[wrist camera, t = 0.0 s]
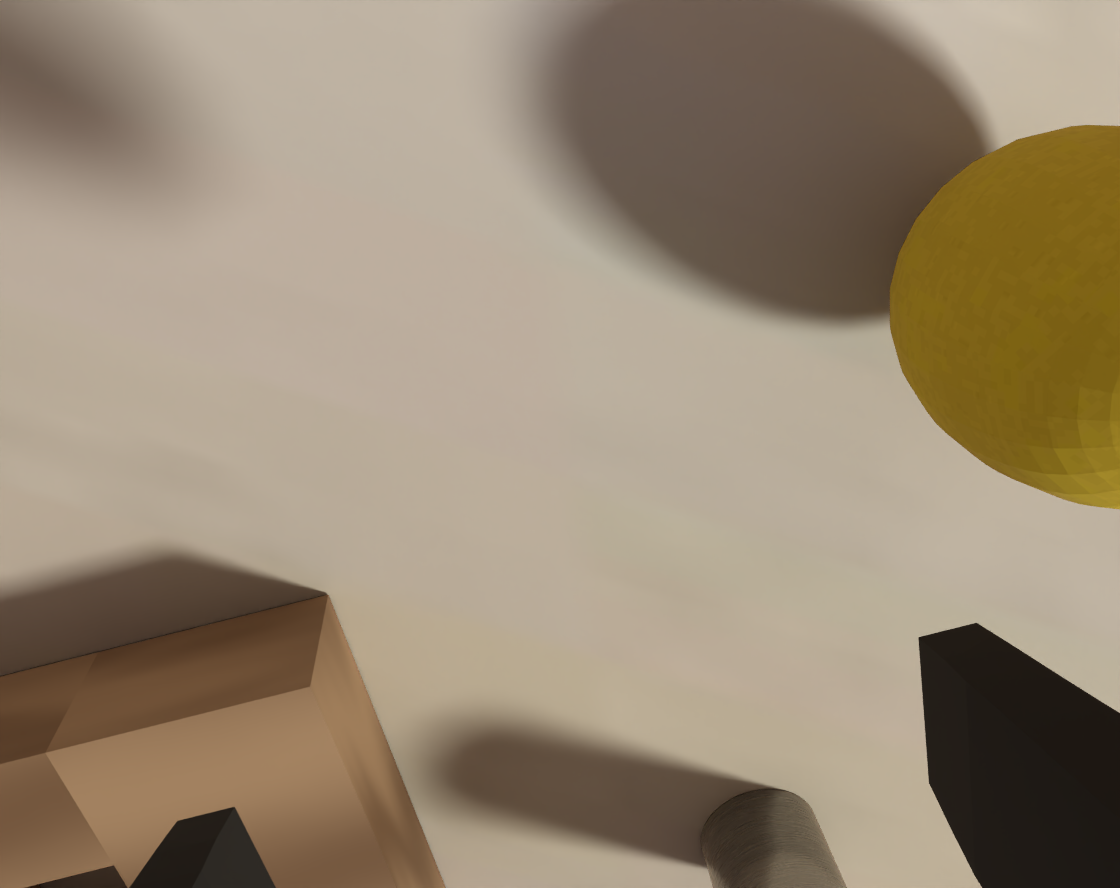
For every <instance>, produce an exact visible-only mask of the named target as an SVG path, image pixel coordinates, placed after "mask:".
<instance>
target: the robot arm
mask: <svg viewBox="0 0 1120 888" xmlns="http://www.w3.org/2000/svg"><path fill="white" fill-rule="evenodd" d="M919 650H920V664H921V678H922V692H923V706H924V720H925V733H926V747H927V761H928V775H929V784H930V786H931V788H932V790H933V792H934V794H935V796H936V798H937V800H938V802H939V805H940V807H941V809H942V811H943V813H944V815H945V817H946V819H947V821H948V823H949V825H950V827H951V829H952V831H953V834H954V836H955V838H956V839H957V841H958V843H959V845H960V847H961V849H962V851H963V853H964V855H965V857H966V859H967V861H968V863H969V865H970V867H971V869H972V871H973V873H974V875H975V877H976V878H977V880H978V882H979V883H980V885H981V886H982V888H1120V713H1119V712H1117V711H1115V710H1114V709H1112V708H1110V707H1109V706H1107V705H1106V704H1104V703H1102V702H1101V701H1099V700H1098V699H1096V698H1094V697H1093V696H1091V695H1090V694H1088V693H1086V692H1085V691H1083V690H1082V689H1080V688H1079V687H1077V686H1075V685H1074V684H1072V683H1071V682H1069V681H1067V680H1066V679H1064V678H1063V677H1061V676H1060V675H1058V674H1056V673H1055V672H1053V671H1052V670H1050V669H1049V668H1047V667H1045V666H1044V665H1042V664H1041V663H1039V662H1038V661H1036V660H1034V659H1033V658H1031V657H1030V656H1028V655H1027V654H1025V653H1023V652H1022V651H1020V650H1019V649H1017V648H1016V647H1014V646H1012V645H1011V644H1009V643H1008V642H1006V641H1005V640H1003V639H1001V638H1000V637H998V636H997V635H995V634H993V633H992V632H990V631H989V630H987V629H986V628H984V627H982V626H981V625H979V624H978V623H974V624H970V625H966V626H962V627H958V628H954V629H950V630H946V631H942V632H938V633H934V634H930V635H926V636H922V637H919ZM129 888H276V887H275V885H274V883H273V881H272V879H271V877H270V875H269V873H268V871H267V869H266V867H265V865H264V863H263V861H262V859H261V857H260V855H259V854H258V852H257V850H256V848H255V846H254V844H253V842H252V840H251V838H250V836H249V834H248V832H247V830H246V828H245V826H244V824H243V822H242V820H241V818H240V816H239V814H238V812H237V810H236V808H235V807H231V808H227V809H223V810H219V811H215V812H211V813H207V814H203V815H199V816H195V817H191V818H187V819H183V820H179V821H177V822H176V823H175V825H174V826H173V827H172V829H171V830H170V831H169V833H168V834H167V835H166V837H165V838H164V839H163V841H162V842H161V843H160V845H159V846H158V848H157V849H156V850H155V852H154V853H153V855H152V856H151V857H150V859H149V860H148V862H147V863H146V865H145V866H144V867H143V869H142V870H141V872H140V873H139V875H138V876H137V877H136V879H135V880H134V882H133V883H132V885H131V886H130V887H129Z"/></svg>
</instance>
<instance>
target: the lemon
mask: <svg viewBox="0 0 1120 888" xmlns="http://www.w3.org/2000/svg"><path fill="white" fill-rule="evenodd" d="M890 329H891V334H892V338H893V341H894V345H895V349H896V352H897V356H898V359H899V363H900V366H901V369H902V372H903V374H904V376H905V377H906V379H907V381H908V383H909V384H910V386H911V387H912V389H913V390H914V392H915V394H916V395H917V397H918V398H919V400H920V401H921V403H922V405H923V406H924V408H925V409H926V411H927V412H928V414H929V415H930V416H931V417H932V419H933V420H934V421H935V423H936V424H937V425H938V426H939V427H941V428H942V429H943V430H944V431H945V432H946V433H947V434H948V435H949V436H951V437H952V438H953V439H954V440H955V441H957V442H958V443H959V444H960V445H962V446H963V447H964V448H965V449H967V450H968V451H969V452H970V453H971V454H973V455H974V456H975V457H977V458H978V459H979V460H981V461H982V462H983V463H985V464H986V465H988V466H989V467H991V468H993V469H994V470H996V471H998V472H1000V473H1002V474H1004V475H1006V476H1008V477H1010V478H1012V479H1014V480H1017V481H1019V482H1022V483H1024V484H1026V485H1029V486H1031V487H1034V488H1036V489H1039V490H1041V491H1044V492H1046V493H1049V494H1051V495H1054V496H1056V497H1059V498H1062V499H1064V500H1068V501H1071V502H1075V503H1078V504H1083V505H1089V506H1096V507H1104V508H1113V509H1120V126H1100V125H1082V126H1071V127H1067V128H1063V129H1059V130H1055V131H1050V132H1046V133H1042V134H1038V135H1034V136H1030V137H1026V138H1022V139H1018V140H1016V141H1014V142H1012V143H1010V144H1008V145H1006V146H1004V147H1002V148H1000V149H998V150H996V151H994V152H992V153H990V154H988V155H986V156H984V157H982V158H980V159H978V160H976V161H974V162H972V163H971V164H970V165H968V166H967V167H966V168H965V169H963V170H962V171H961V172H960V173H959V174H957V175H956V176H955V177H954V178H952V179H951V180H950V181H949V182H948V183H946V184H945V185H944V186H943V187H941V189H940V190H939V191H938V192H937V194H936V195H935V196H934V197H933V198H932V200H931V201H930V202H929V203H928V205H927V206H926V207H925V208H924V210H923V211H922V212H921V213H920V215H919V216H918V217H917V218H916V220H915V222H914V224H913V226H912V228H911V230H910V232H909V234H908V236H907V238H906V240H905V242H904V244H903V246H902V248H901V250H900V252H899V254H898V258H897V262H896V266H895V270H894V274H893V278H892V282H891V286H890Z"/></svg>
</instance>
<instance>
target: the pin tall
mask: <svg viewBox="0 0 1120 888" xmlns="http://www.w3.org/2000/svg"><path fill="white" fill-rule="evenodd" d="M701 847H702V851H703V854H704V858H705V861H706V865H707V868H708V871H709V875H710V878H711V881H712V885H713V888H847V887H846V885H845V882H844V880H843V878H842V875H841V873H840V871H839V869H838V866H837V864H836V862H835V860H834V857H833V855H832V853H831V851H830V848H829V846H828V844H827V842H826V839H825V837H824V835H823V833H822V830H821V828H820V826H819V824H818V821H817V819H816V817H815V815H814V812H813V810H812V808H811V807H810V806H809V804H808V803H807V802H806V801H805V800H803V799H802V798H801V797H799V796H797V795H795V794H793V793H790V792H787V791H782V790H775V789H765V790H757V791H752V792H748V793H745V794H742V795H739V796H737V797H735V798H733V799H731V800H729V801H728V802H726V803H725V804H723V805H722V806H721V807H719V808H718V809H717V810H716V811H715V812H714V813H713V814H712V815H711V817H710V818H709V819H708V821H707V822H706V824H705V826H704V829H703V831H702V836H701Z"/></svg>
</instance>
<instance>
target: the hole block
mask: <svg viewBox="0 0 1120 888" xmlns="http://www.w3.org/2000/svg"><path fill="white" fill-rule="evenodd" d="M231 807H235V808H236V810H237V812H238V814H239V816H240V818H241V820H242V822H243V824H244V826H245V828H246V830H247V832H248V834H249V836H250V838H251V840H252V842H253V844H254V846H255V848H256V850H257V852H258V854H259V855H260V857H261V859H262V861H263V863H264V865H265V867H266V869H267V871H268V873H269V875H270V877H271V879H272V881H273V883H274V885H275V887H276V888H446V887H445V885H444V882H443V880H442V877H441V875H440V872H439V870H438V867H437V865H436V862H435V860H434V857H433V855H432V853H431V850H430V848H429V845H428V843H427V840H426V838H425V835H424V833H423V830H422V828H421V825H420V823H419V820H418V818H417V815H416V813H415V810H414V808H413V805H412V803H411V800H410V798H409V795H408V793H407V790H406V788H405V785H404V783H403V780H402V778H401V775H400V773H399V770H398V768H397V765H396V763H395V760H394V758H393V755H392V753H391V750H390V748H389V745H388V743H387V740H386V738H385V735H384V733H383V730H382V728H381V725H380V723H379V720H378V718H377V715H376V713H375V710H374V708H373V705H372V703H371V700H370V698H369V695H368V693H367V690H366V688H365V685H364V683H363V680H362V678H361V675H360V673H359V670H358V668H357V665H356V663H355V660H354V658H353V655H352V653H351V650H350V648H349V645H348V643H347V640H346V638H345V635H344V633H343V630H342V628H341V625H340V623H339V620H338V618H337V615H336V613H335V610H334V608H333V605H332V603H331V600H330V598H329V595H325V596H321V597H317V598H313V599H309V600H305V601H301V602H297V603H293V604H289V605H285V606H281V607H277V608H273V609H269V610H265V611H261V612H257V613H253V614H249V615H245V616H241V617H237V618H233V619H229V620H225V621H221V622H217V623H213V624H209V625H205V626H201V627H197V628H193V629H189V630H185V631H181V632H177V633H173V634H169V635H165V636H161V637H157V638H153V639H149V640H145V641H141V642H137V643H133V644H129V645H125V646H121V647H117V648H113V649H109V650H105V651H101V652H97V653H93V654H89V655H85V656H81V657H77V658H73V659H69V660H65V661H61V662H57V663H53V664H49V665H45V666H41V667H37V668H33V669H29V670H25V671H21V672H17V673H13V674H9V675H5V676H1V677H0V888H41V887H40V886H39V884H41V883H45V882H49V881H53V880H57V879H61V878H65V877H69V876H73V875H77V874H81V873H85V872H89V871H93V870H97V869H101V868H105V867H109V866H113V865H114V866H115V868H116V870H117V871H118V873H119V875H120V876H121V878H122V879H123V881H124V883H125V884H126V886H127V888H129V887H130V886H131V885H132V883H133V882H134V880H135V879H136V877H137V876H138V875H139V873H140V872H141V870H142V869H143V867H144V866H145V865H146V863H147V862H148V860H149V859H150V857H151V856H152V855H153V853H154V852H155V850H156V849H157V848H158V846H159V845H160V843H161V842H162V841H163V839H164V838H165V837H166V835H167V834H168V833H169V831H170V830H171V829H172V827H173V826H174V825H175V823H176V822H177V821H179V820H183V819H187V818H191V817H195V816H199V815H203V814H207V813H211V812H215V811H219V810H223V809H227V808H231Z"/></svg>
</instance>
